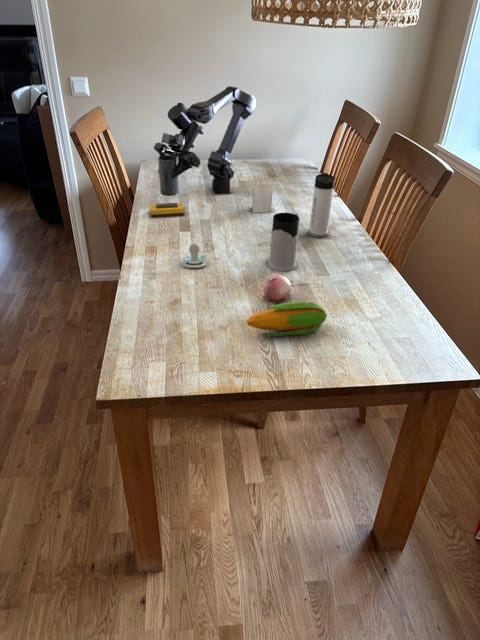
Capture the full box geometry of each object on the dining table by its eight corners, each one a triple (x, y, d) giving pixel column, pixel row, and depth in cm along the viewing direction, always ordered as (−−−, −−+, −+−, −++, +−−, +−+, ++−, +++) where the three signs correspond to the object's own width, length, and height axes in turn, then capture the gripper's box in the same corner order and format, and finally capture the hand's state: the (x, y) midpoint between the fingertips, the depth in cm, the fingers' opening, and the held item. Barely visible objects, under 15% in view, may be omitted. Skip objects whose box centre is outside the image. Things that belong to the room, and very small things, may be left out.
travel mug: (326, 230, 172) (334, 173, 160) (327, 238, 166) (335, 179, 155) (308, 229, 172) (315, 172, 161) (309, 237, 167) (315, 178, 155)
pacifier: (206, 269, 146) (206, 259, 151) (206, 250, 142) (206, 241, 147) (181, 269, 146) (182, 259, 150) (181, 250, 142) (181, 241, 147)
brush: (182, 210, 183) (182, 200, 181) (184, 215, 178) (184, 206, 176) (150, 212, 180) (149, 202, 178) (151, 217, 176) (150, 208, 174)
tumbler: (180, 190, 180) (178, 155, 173) (176, 196, 175) (174, 161, 168) (162, 189, 181) (160, 154, 174) (158, 195, 176) (156, 160, 169)
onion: (262, 290, 137) (263, 267, 133) (290, 291, 137) (292, 268, 133) (262, 306, 130) (263, 282, 126) (291, 307, 130) (294, 283, 126)
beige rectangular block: (271, 212, 183) (272, 186, 178) (252, 212, 183) (254, 186, 177) (269, 208, 186) (271, 182, 181) (252, 208, 186) (253, 182, 180)
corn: (333, 309, 116) (250, 316, 112) (329, 336, 120) (249, 344, 116) (322, 294, 122) (243, 300, 119) (319, 320, 126) (243, 327, 122)
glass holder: (263, 266, 148) (266, 219, 140) (280, 248, 159) (284, 203, 151) (290, 273, 145) (295, 226, 137) (306, 254, 156) (311, 209, 148)
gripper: (155, 118, 172) (134, 157, 171) (193, 128, 163) (171, 169, 162) (172, 137, 182) (152, 174, 181) (210, 147, 172) (189, 186, 171)
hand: (165, 175), depth 173 cm, fingers closed on tumbler, 6 cm apart
